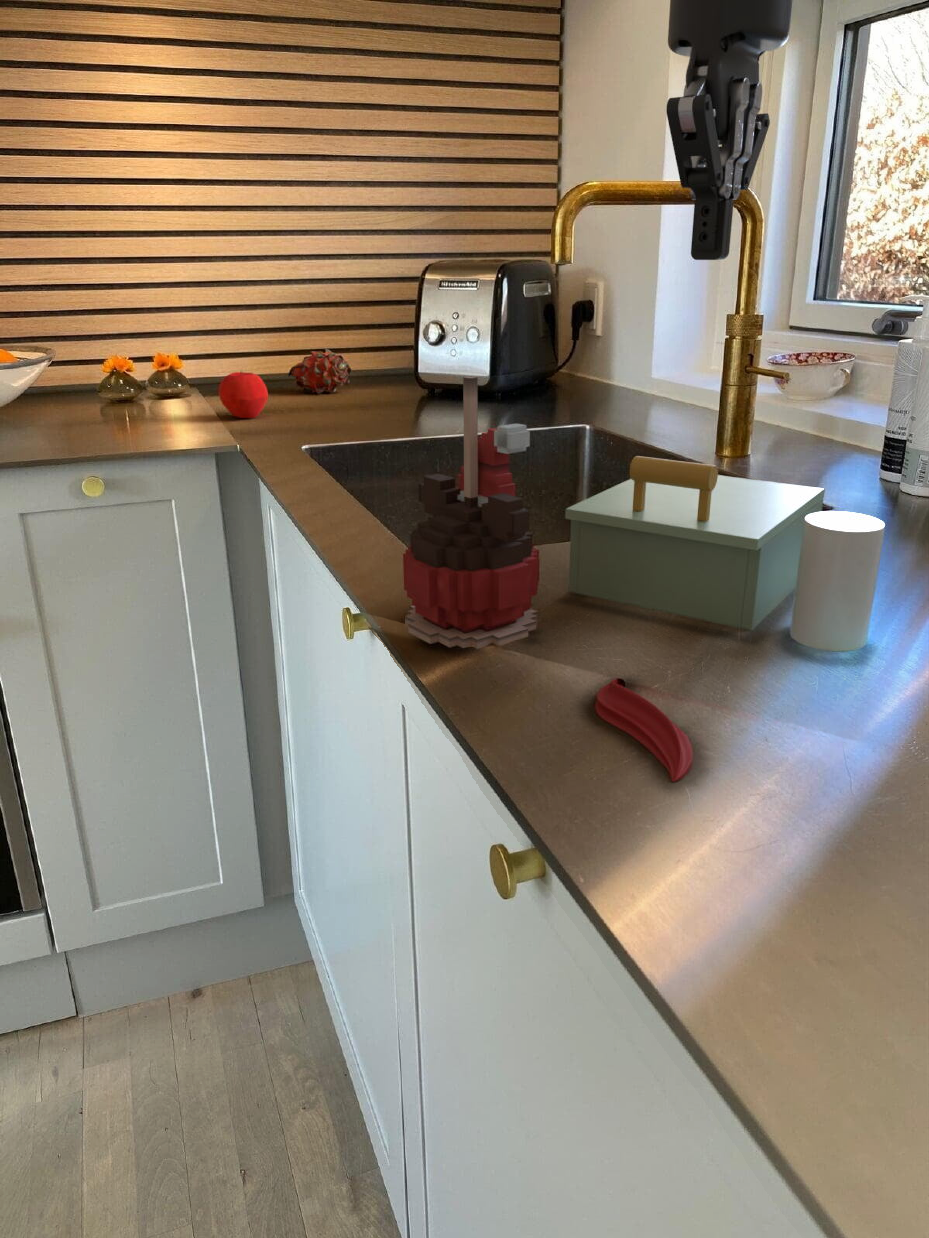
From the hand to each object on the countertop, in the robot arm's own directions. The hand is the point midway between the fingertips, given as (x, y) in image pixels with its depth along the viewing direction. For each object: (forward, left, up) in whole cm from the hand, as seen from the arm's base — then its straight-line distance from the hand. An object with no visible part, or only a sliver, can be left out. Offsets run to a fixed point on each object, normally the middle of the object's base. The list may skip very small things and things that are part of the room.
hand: (709, 259), depth 65 cm
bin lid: (-2, 0, -18) cm, 18 cm away
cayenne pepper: (+21, +6, -25) cm, 34 cm away
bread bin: (-3, 0, -25) cm, 25 cm away
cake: (+15, -10, -25) cm, 31 cm away
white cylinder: (+3, +12, -25) cm, 28 cm away
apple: (-41, -92, -25) cm, 104 cm away
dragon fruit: (-68, -100, -25) cm, 123 cm away
